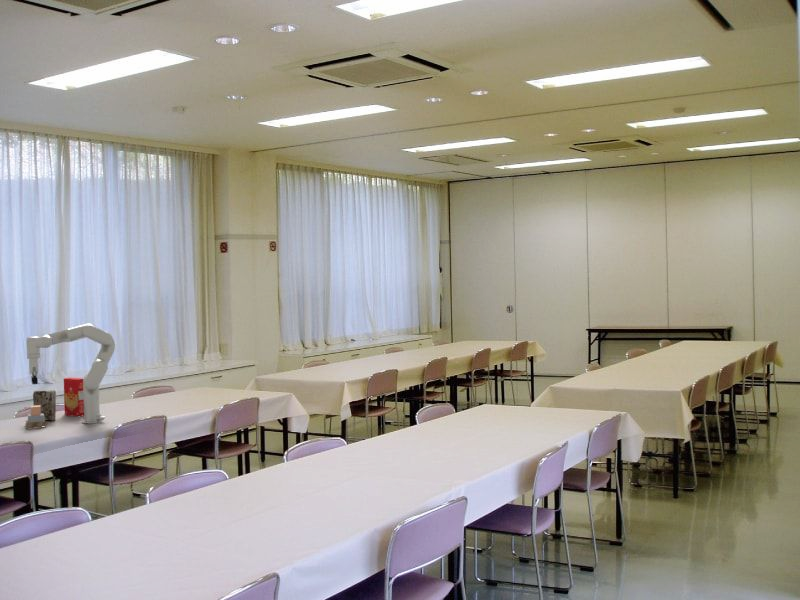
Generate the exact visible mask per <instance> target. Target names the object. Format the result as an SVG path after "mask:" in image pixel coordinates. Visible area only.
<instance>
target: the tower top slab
mask: <svg viewBox="0 0 800 600" xmlns="http://www.w3.org/2000/svg"><path fill="white" fill-rule="evenodd" d="M27 420H28V422H29V423H33V422H44V421H45V415H44V414H43V413H41V415H36V416H31V413H29V414H27Z"/></svg>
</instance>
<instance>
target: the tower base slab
mask: <svg viewBox="0 0 800 600" xmlns="http://www.w3.org/2000/svg"><path fill="white" fill-rule="evenodd" d="M46 424H47V423H46V421H44V422H33V423H29V422H28V419H27V420H25V427H26V429H27V428H32V429H35V428H34V427H42V426H46V427H47V425H46Z"/></svg>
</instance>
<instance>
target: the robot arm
mask: <svg viewBox="0 0 800 600" xmlns="http://www.w3.org/2000/svg"><path fill="white" fill-rule="evenodd" d="M85 338H87V339H89V340H91V341H93V342H95V343H98V344H100V349H99V351H98V353H97V355H96V357H95V358H94V360H93V361H92V363H91V368H90V369H89V371H88V373H87V374H85V375H84V377H83V378H82V379H83V392H84V416H83V417H84V419H82V420H81V423H82V424H86V423H89V424H96V423H97V424H98V423H102V422H103V421H104V420H105V416H102V414H101V413H100V409H101V408H100V385H101V383H102V381H103V379H104V378H105V376H106V374H107V371H108V367H109V363H110V361H111V359H112V357H113V354H114V352H115V348H116V343H115V340H114V337H113V336H112V334H111V333H110V332H108V331H106V330H102V329H100V328H98V327H96V326H94V325H93V324H92V323H85V324H81V325H77V326H74V327H73V326H72V327H71V328H69V327H68V328H66V329H62V330H59V331H55V332H51V333H48V334H44V335H42V336H28V337H26V340H25V341H26V343H25V345H26V359H27V360H28V374H29V375H31V384H32V385H38V383H39V382H38V381H39V380H38V373H39V359H40V358H41V349H40V348H43V349H44V348H45V349H47V348H50V347H51V346H53V345H57V344H61V343H70V342H71V343H72V342H75V341H79V340H81V339H85Z"/></svg>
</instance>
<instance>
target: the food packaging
mask: <svg viewBox="0 0 800 600" xmlns="http://www.w3.org/2000/svg"><path fill="white" fill-rule="evenodd" d="M83 379H84V378H79V377H77V378H76V377H67V378H63V400H64V402H63V403H64V415H65V414H66V415H65V416H70V415H73V416H72V417H78V416H80V417H83V416H82V415H84V392H83Z"/></svg>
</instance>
